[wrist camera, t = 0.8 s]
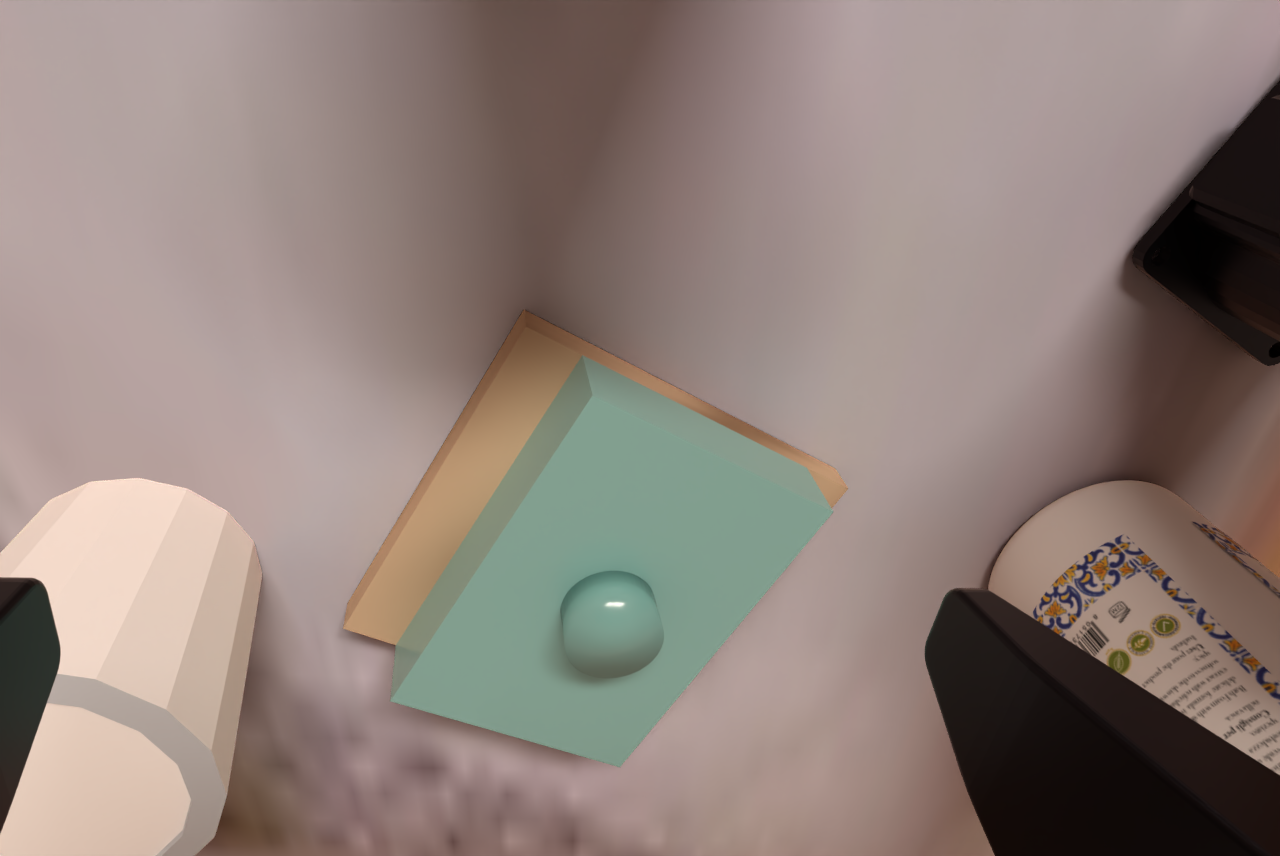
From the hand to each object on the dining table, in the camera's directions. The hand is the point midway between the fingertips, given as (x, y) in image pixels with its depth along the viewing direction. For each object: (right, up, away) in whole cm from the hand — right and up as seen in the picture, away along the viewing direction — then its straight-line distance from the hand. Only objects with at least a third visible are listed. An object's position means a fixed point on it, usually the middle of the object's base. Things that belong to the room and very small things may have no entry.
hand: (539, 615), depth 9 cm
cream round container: (-12, -2, +14) cm, 18 cm away
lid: (0, -2, +15) cm, 15 cm away
